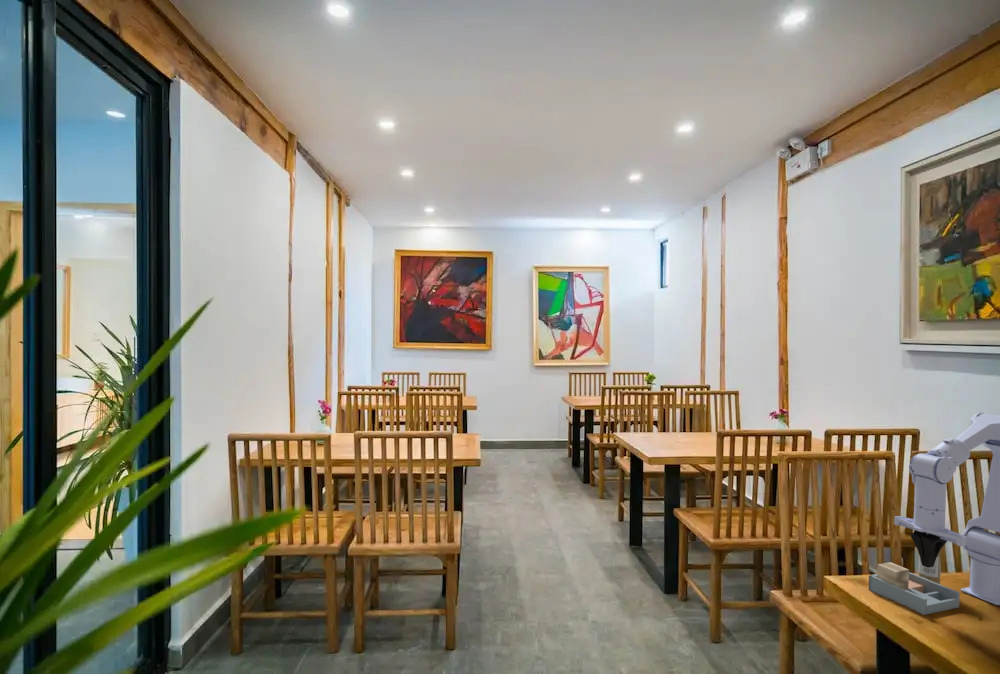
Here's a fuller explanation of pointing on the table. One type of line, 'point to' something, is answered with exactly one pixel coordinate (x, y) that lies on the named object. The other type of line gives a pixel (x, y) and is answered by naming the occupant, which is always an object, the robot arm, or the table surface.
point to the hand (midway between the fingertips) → (927, 566)
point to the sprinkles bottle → (931, 570)
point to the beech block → (893, 574)
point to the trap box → (917, 594)
